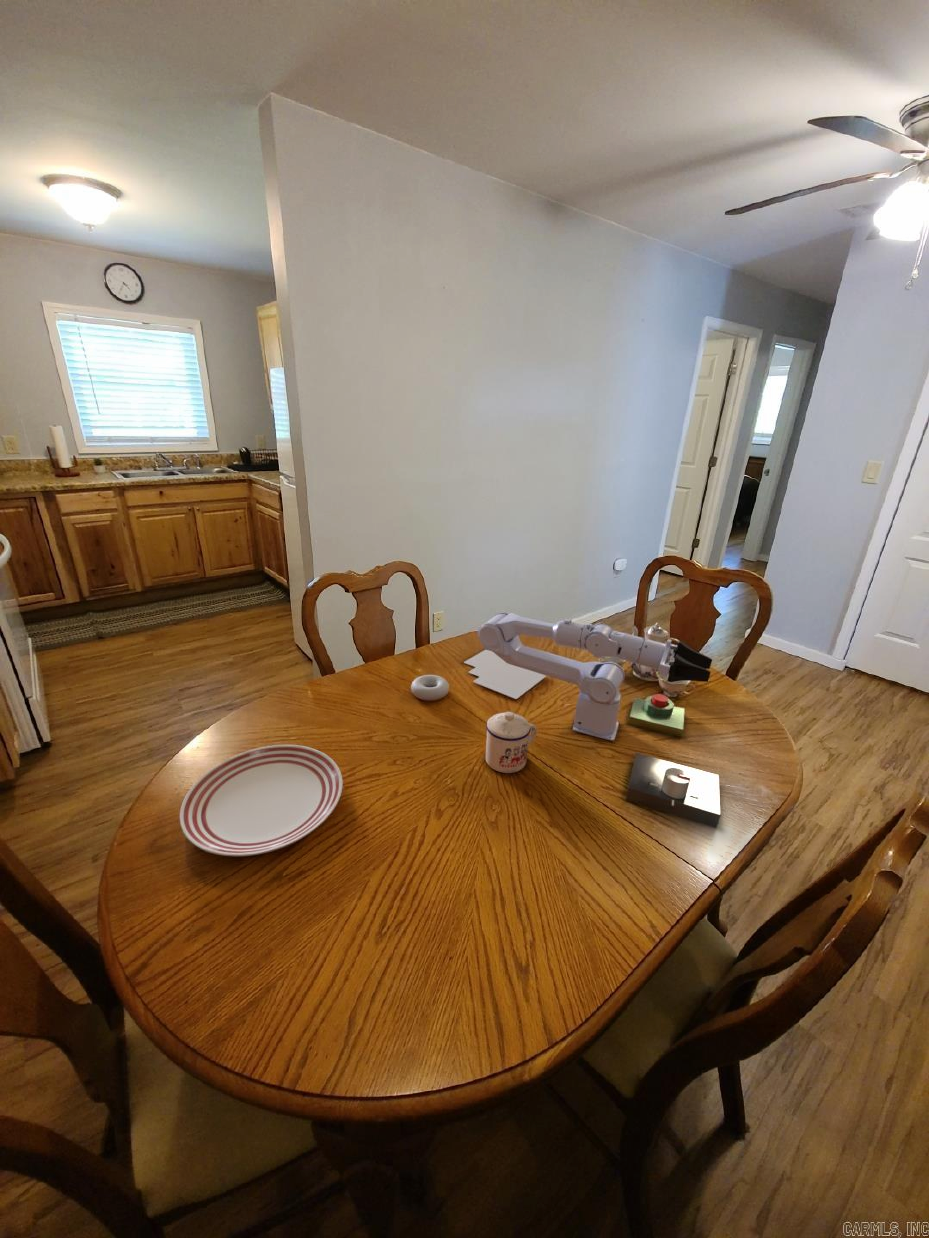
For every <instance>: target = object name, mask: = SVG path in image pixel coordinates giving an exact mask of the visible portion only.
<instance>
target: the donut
mask: <svg viewBox="0 0 929 1238" xmlns="http://www.w3.org/2000/svg"><path fill="white" fill-rule="evenodd" d="M410 691H411V693H412V695H413V696H414V697H415V698H417V699H419V700H422V701H428V702H432V701H438V700H441V699H443V698H445V697H446V696H447V695H448V693H449V692H450V684H449V682H448V680H446V678H444V677H442V676H440V675H436V674H424V675H420V676H418V677H415V679H414V680H413V681H412V682H411V685H410Z"/></svg>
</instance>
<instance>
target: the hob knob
mask: <svg viewBox="0 0 929 1238" xmlns="http://www.w3.org/2000/svg"><path fill="white" fill-rule="evenodd" d="M689 783H690V776H689V775H688V774H687V773H686V772H685V771H683V770H681V769H678V768H668V769H667V770H666V771H665V775H664V779H663V784H662V790H663V792H664V793H665V794H666V795H668V796H670V797H672V798H676V799H682V798H684V797H685V796H686V794H687V790H688V787H689Z"/></svg>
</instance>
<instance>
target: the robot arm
mask: <svg viewBox="0 0 929 1238" xmlns="http://www.w3.org/2000/svg"><path fill="white" fill-rule="evenodd" d="M520 635H522V636H530V637H536V638H542V639H543V638H544V639H550V640H551V639H552V640H553V642H554V643H555V644H556V645H557V646H563V647H566V648H572V649H577V650H582V651H587V652H588V653H590V654H592V655H593V658H598V657H603V656H612V657H615V658H618V659H622V660H626V662H628V661H629V662H633V663H636V664H639V665H643V666H646V667H650V668H653V669H657V670H658V673H659V674H662V675H666V676H668V674H669V676H668V680H667V681H668V682H675V681H692V682H702V683H707V682H709V680H710V676H711V671H710V669H711V665H712V662H713V658H711V657H709V656H707V655H705V654H703V653H701V652H699V651H696V650H695V649H693V648H692V647H690V646H689V645H687V643H686V642H685V641H683V640H679V643H677V644H673V643H672V641H673V640H670V639H668V640H667V641H668V642H666V643H665V644H664V643H660V642H656V641H653V640H649V639H645V637H641V636H638V637H637V636H634V635H632V634H630V633H626V632H621V631H617V630H614V628H613V627H612V626H611V625H609V624H607V623H604V622H598V623H596V624H593V623H591V622H587V624H586V623H579V622H572V619H571V618H565V620H560V621H558V622H557V623H551V622H546V621H542V620H538V619H533V618H529V617H526V616H525V617H524V616H521V615H518V614H517V613H515V612H510V613H508V612H505V611H500V612H497V613H496V614H495V615H494V616H493V617H492V618H490V619H489V620H488V621H486V622H485V623H483V624H481V626H479V628H478V631H477V637H478V640H479V642H480V644H481V645H482V648H483V649H484V650H489V651H492V652H494V653H495V654H496V655H497V656H499V657H500V658H501V659H502V660H504V661H505V662H506V663H508V664H510V665H514V666H517V667H520V668H523V669H527V670H530V671H533V672H536V673H540V674H543V675H546V677H549V678H552V679H556V680H560V681H563V682H567V683H569V684H573V685H576V686H577V687H578V689H579V694H578V696H577V701H576V707H575V713H574V723H573V727H572V731H573V732H576V733H577V732H578V733H582V734H585V735H588V736H592V737H595V738H600V739H603V740H607V741H610V742H614V741H615V739H616V735H617V732H618V729H619V724H620V722H619V721H618V716H619V710H620V704H621V700H622V695H621V693H620V688H621V685H622V684H623V683H624V681H625V678H626V675H625V670H624V668H623V667H622V668H621V666H619V665H618V664H616V663H613V662H605V663H600V662H599V661H596V660H594V661H588V662H583V661H579V660H576V659H572V658H569V657H566V656H561V655H558V654H555V653H551V652H549V651H545V650H541V649H537V648H534V647H530V646H526V645H523V643H522V642H521V639H520ZM669 659H670V660H669ZM673 659H675V660H674V661H673V663H672V660H673ZM629 662H628V663H629ZM668 662H669V663H668Z"/></svg>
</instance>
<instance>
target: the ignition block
mask: <svg viewBox="0 0 929 1238" xmlns="http://www.w3.org/2000/svg"><path fill="white" fill-rule="evenodd" d="M653 695H654V694H653ZM653 695H652V694H651V695H648V696H646V697H645V698H640V697H637V696H634V697H633V700H632V701H633V702H632V706H631V709H630V713H629V717H628V722H627V723H628V725H630V726H634V727H638V728H642V729H646V730H650V731H653V732H658V733H662V734H665V735H670V736H674V737H678V738H682V737H683V733H684V724H685V713H686V712H685V711H686V708H684V707H680V706H675V703H674V702H673V701H672V700H671V699H669V698H668V704H667V706H666V707H660V706H656V705H654V704H652V698H653Z"/></svg>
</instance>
